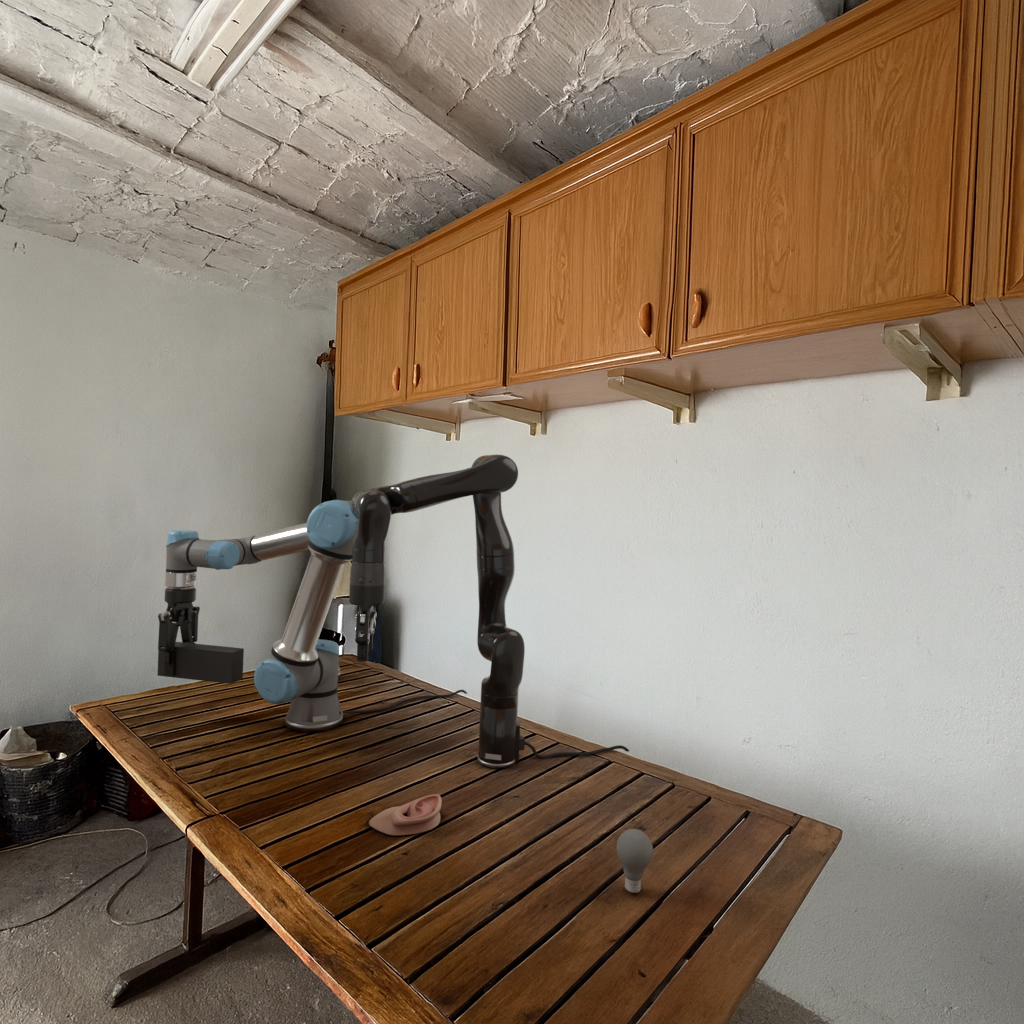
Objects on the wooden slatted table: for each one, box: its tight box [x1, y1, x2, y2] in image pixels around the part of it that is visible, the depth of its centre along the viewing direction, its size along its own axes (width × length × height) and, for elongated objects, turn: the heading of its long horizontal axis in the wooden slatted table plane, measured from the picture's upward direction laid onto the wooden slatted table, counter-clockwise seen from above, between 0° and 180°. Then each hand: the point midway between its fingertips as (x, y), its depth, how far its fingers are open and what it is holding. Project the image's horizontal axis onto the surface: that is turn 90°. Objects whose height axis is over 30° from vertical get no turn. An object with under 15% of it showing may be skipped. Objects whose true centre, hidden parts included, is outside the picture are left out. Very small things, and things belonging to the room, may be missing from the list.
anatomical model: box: [368, 793, 443, 836], centre depth 125 cm, size 13×4×12 cm
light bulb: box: [615, 828, 654, 894], centre depth 106 cm, size 6×6×10 cm
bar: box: [157, 641, 245, 685], centre depth 171 cm, size 22×5×8 cm, turn 80°
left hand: (177, 672), depth 172 cm, fingers closed on bar, 5 cm apart
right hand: (364, 656), depth 138 cm, fingers open, 8 cm apart
